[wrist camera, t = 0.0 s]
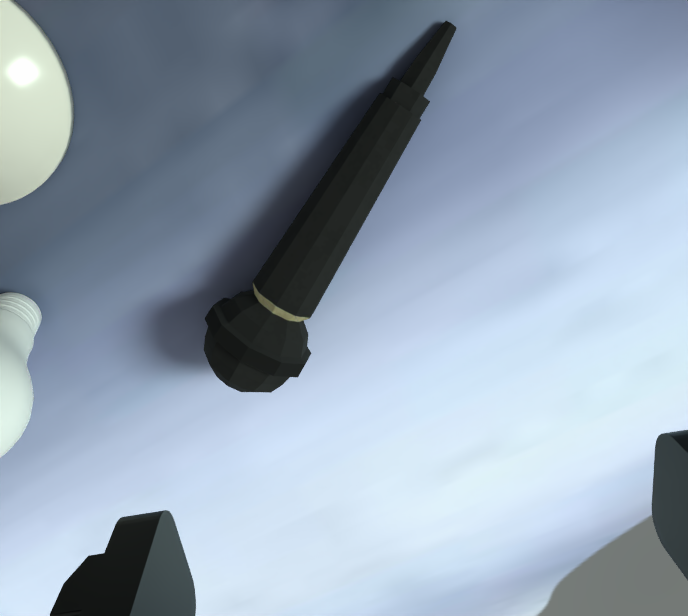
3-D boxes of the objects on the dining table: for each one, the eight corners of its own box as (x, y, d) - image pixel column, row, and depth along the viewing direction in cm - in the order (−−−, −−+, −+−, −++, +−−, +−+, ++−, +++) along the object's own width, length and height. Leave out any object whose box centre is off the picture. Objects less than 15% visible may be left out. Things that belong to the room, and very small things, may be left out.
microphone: (400, 5, 30) (206, 336, 35) (395, -29, 24) (166, 371, 30) (496, 67, 30) (288, 388, 35) (512, 49, 24) (263, 432, 30)
